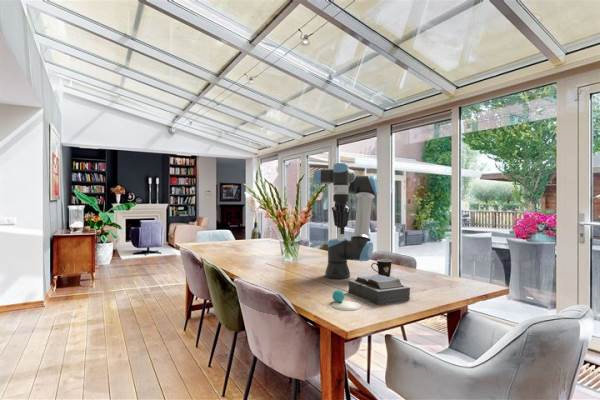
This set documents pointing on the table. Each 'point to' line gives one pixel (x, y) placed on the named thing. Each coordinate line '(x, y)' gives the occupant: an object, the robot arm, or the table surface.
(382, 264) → the coffee mug
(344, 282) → the table surface
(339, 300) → the ball
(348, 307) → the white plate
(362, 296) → the bible
